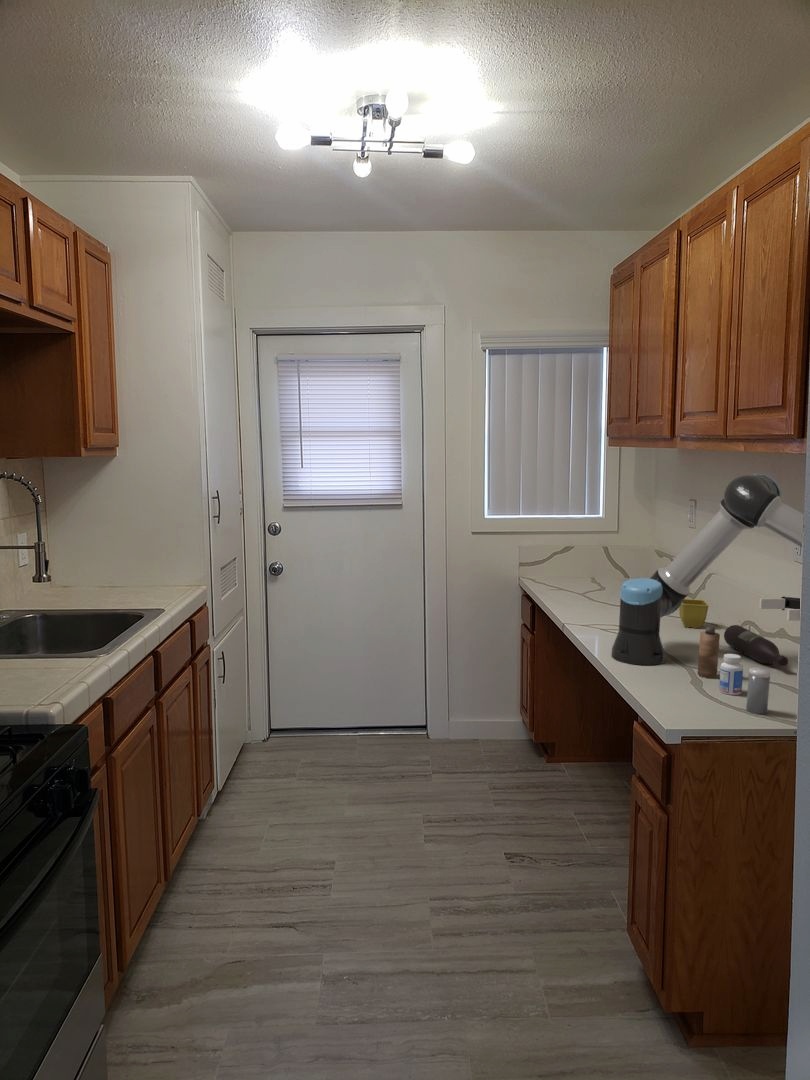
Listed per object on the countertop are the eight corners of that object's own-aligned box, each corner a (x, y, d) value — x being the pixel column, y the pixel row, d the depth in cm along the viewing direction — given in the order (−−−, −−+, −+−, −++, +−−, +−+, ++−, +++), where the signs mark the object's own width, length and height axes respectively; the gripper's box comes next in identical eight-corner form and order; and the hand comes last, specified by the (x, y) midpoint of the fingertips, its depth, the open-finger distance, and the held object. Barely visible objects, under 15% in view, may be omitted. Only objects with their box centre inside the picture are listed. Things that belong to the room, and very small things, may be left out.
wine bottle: (748, 631, 244) (800, 657, 214) (737, 649, 244) (787, 678, 214) (730, 620, 243) (780, 645, 213) (719, 639, 244) (767, 666, 214)
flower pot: (707, 630, 264) (708, 605, 263) (680, 628, 266) (682, 603, 265) (702, 624, 273) (704, 600, 272) (676, 623, 274) (678, 598, 273)
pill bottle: (740, 690, 199) (743, 654, 198) (742, 696, 194) (745, 659, 193) (718, 687, 201) (720, 652, 200) (719, 694, 196) (722, 657, 195)
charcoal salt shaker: (749, 713, 182) (752, 672, 180) (743, 707, 186) (746, 666, 185) (769, 714, 181) (773, 673, 180) (763, 708, 186) (766, 667, 184)
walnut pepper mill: (699, 677, 209) (703, 629, 208) (695, 672, 214) (698, 625, 213) (718, 678, 209) (722, 630, 207) (714, 673, 214) (717, 626, 212)
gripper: (884, 635, 184) (799, 635, 183) (824, 613, 209) (748, 612, 208) (887, 605, 183) (802, 604, 183) (826, 586, 208) (750, 585, 207)
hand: (773, 609), depth 195 cm, fingers open, 13 cm apart
